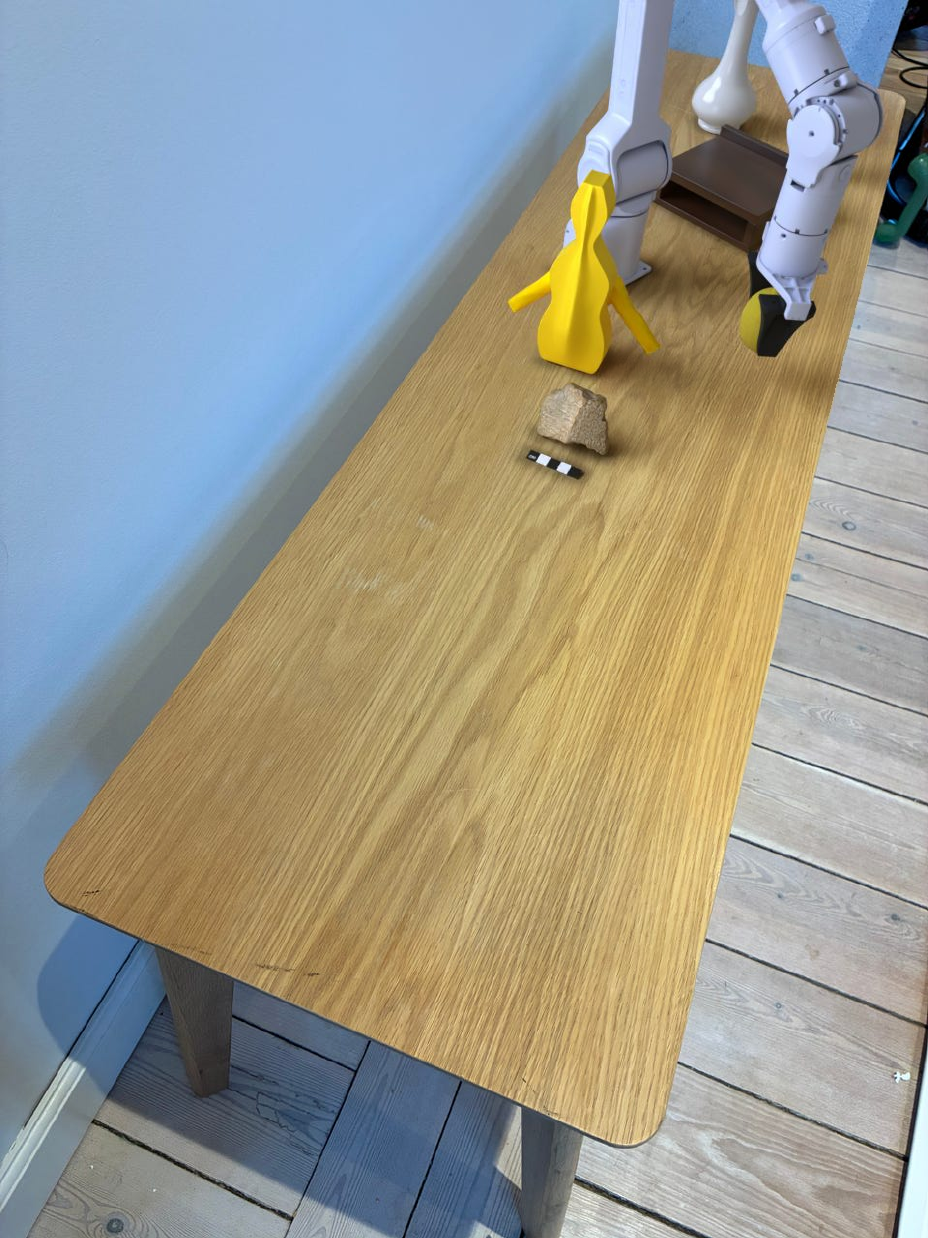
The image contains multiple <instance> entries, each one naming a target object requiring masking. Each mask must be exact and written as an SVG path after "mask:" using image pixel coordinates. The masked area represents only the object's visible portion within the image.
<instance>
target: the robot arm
mask: <svg viewBox="0 0 928 1238" xmlns="http://www.w3.org/2000/svg"><path fill="white" fill-rule="evenodd" d="M618 2H619V3H618V13H617V21H616V32H615V40H614V41H615V42H614V52H613V61H612V69H611V80H610V90H609V98H608V99H609V100H608V101H609V102H608V109H607V112H606V113H605V114H604V115H603V117H601V119H600V120H599V121H598V122H597V123H596V124H595V125H594V126H593V128H592V129H591V130H590V131H589V133H588V134H587V135H586V137H585V147H584V151H583V153H582V155H581V158H580V160H579V162H578V165H577V175H576V176H577V177H576V178H577V185H578V188H579V187H580V185H581V184H582V182H583V181H584V179H585V178H586V176H587V175H588V173H589V172H590V170H592V169H593V170H595V171H598V172H602V173H606V174H611V175H612V178H613V184H614V190H615V196H616V204H615V208H614V211H613V213H612V215H611V216H610V218H609V220H608V221H607V223H606V224H605V226H604V228H603V229H602V237H603V240H604V242H605V245H606V247H607V249H608V251H609V252H610V254H611V256H612V258H613V260H614V262H615V264H616V267H617V274H618V275H619V276H620V277H621V278H622V279H623V281H624V285H625V286H627V285H629V284H631V283H633V282H634V281H636V280H638V279H639V278H642V277H643V276H645V275H647V274H649V273H650V272H652V267H651V265H649V264H647V263H645V262H644V261H642V260H640V254H641V250H642V245H643V240H644V236H645V231H646V226H647V221H648V217H649V213H650V207H651V204H652V202H653V201H654V200H655V197H656V193H657V190H658V189H661V188H662V187H664V186H665V185H666V184H667V182H668V181H669V179H670V176H671V173H672V158H673V156H672V151H671V137H672V127H671V126H670V125H669V124H668V123H667V122H666V121H665V120H664V119H663V118H662V117H661V116H660V109H661V108H660V107H661V99H662V93H663V88H664V87H663V86H664V79H665V72H666V66H667V65H666V64H667V58H668V57H667V56H668V50H669V42H670V36H671V30H672V23H673V22H672V21H673V15H674V14H673V13H674V7H675V0H619V1H618ZM755 2H756V4H757V5H758V7H759V12H760V13H761V15H762V17H763V19H764V20H765V22H766V24H767V26H766V30H765V32H764V33H765V34H764V37H763V40H762V46H761V48H762V51H763V53H764V55H765V58H766V60H767V63H768V65H769V67H770V69H771V71H772V73H773V75H774V79H775V80H776V82H777V85H778V88H779V89H780V92H781V94H782V96H783V99H784V101H785V103H786V105H787V107H788V110H789V112H790V115H791V117H792V118H789V119H788V120H787V125H786V143H787V148H788V154H789V158H788V162H787V165H786V168H787V173H786V176H785V179H784V182H783V185H782V188H781V191H780V195H779V198H778V201H777V204H776V207H775V210H774V213H773V216H772V219H771V222H767V223H766V226H765V230H764V233H763V236H762V240H763V243H762V245H760V248H759V250H752V251H750V252H748V253H747V255H746V256H747V261H748V268H749V295H748V301H749V300H750V299H751V298H752V297H753V295H754V294H756V293H757V292H759V291H761V290H762V289H766V288H772V287H774V288H775V289H776V290H777V292H778V293H779V296H778V295H772V294H759V296H758V299H759V303H760V310H761V321H760V329H759V334H758V339H757V346H756V352H757V354H756V356H757V357H763V358H764V357H765V358H776V357H777V356H778V355H779V354H780V352H782V350H783V348H784V347H785V346H786V344H787V343H788V341H789V340H790V338H791V337H792V336H793V335H794V333H795V332H796V331H798V330H799V329H800V327H802V326H803V325H804V324H805V323H807V322H808V321H810V320H812V319H813V318H814V317H815V314H816V312H817V306H816V303H815V300H811V295H812V291H813V288H814V284H815V281H816V279H817V276H818V275H826V274H828V271H829V268H830V267H829V264H828V261H827V260H826V258H824V257H822V255H823V252H824V249H825V247H826V244H827V242H828V239H829V237H830V233H831V230H832V228H833V226H834V223H835V220H836V218H837V215H838V213H839V210H840V207H841V204H842V202H843V199H844V196H845V193H846V191H847V188H848V185H849V183H850V180H851V177H852V174H853V172H854V169H855V166H856V164H857V161H858V159H859V155H858V154H857V153H860V152H862V151H864V150H866V149H867V148H869V147H871V146H872V145H873V144H874V143H875V142H876V140H877V139H878V138H879V136H880V133H881V131H882V129H883V126H884V117H885V116H884V114H885V113H884V107H883V102H882V100H881V94H880V92H879V90H878V89H876V88H875V86H873V84H871V83H869V82H866V81H863V80H862V79H861V78H860V77H859V74H858V72H856V73H855V72H854V71H853V70H852V69H851V67H850V65H849V62H848V60H847V57H846V55H845V53H844V51H843V48H842V46H841V44H840V41H839V40H838V39H839V38H838V37H837V34H836V32H835V29H836V28H837V24H836V22H835V20H834V19H835V18H834V16H833V15H832V13H827V11H826V9H825V7H824V6H822V5H821V4H818V3H817V4H816V3H814V2H810V1H808V0H755ZM563 236H564V237H563V243H562V244H563V245H562V249H563V248H564V247H565V246H567V245H568V244H569V243H570V242H572V241H573V240H574V239H575V238H576V234H575V230H574V227H573V223H572V219H571V218H570V219H569V220H568V222H567V223H566V227H565V231H564V235H563Z"/></svg>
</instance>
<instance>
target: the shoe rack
mask: <svg viewBox="0 0 928 1238" xmlns="http://www.w3.org/2000/svg"><path fill="white" fill-rule="evenodd" d="M788 158H789V152H786V151H784V150H782V149H780V148H777V147H776V146H774V145H772V144H769V143H767V142H765V141H763V140H761V139H759V138H757V137H755V136H753V135H751V134H748V133H747V132H744V131H743V130H741V129H739V130H738V129H736V128H734V127H732V126H730V125H728V124H725V125H723V126H722V128H721V132H720V135H718V134H717V135H716V136H714V137H712V138H710V139H708V140H706V141H704V142H702V143H700V144H698V145H696V146H694V147H692V148H690V149H687V150H686V151H683V152H682V153H681V152H680V154H677V155H675V156H672V173H671V176H670V179H669V181H668V182H667V184H666V185H665V186H664V187H662V188H661V189H658V190H657V193H656V197H655V200H654V201H652V202H653V203H654V204H657V205H659V206H661V207H662V208H664V209H666V210H668V211H670V212H672V213H673V214H675V215H677V216H679V217H681V218H682V219H684V220H686V221H687V222H690V223H692V224H694V225H695V226H697V227H699V228H701V229H703V230H705V231H707V232H709V233H710V234H712V235H714V236H716V237H718V238H719V239H722V240H723V241H725V242H727V243H728V244H730V245H733V246H734V247H736V248H737V249H740V250H741V251H744V252H745V253H747V254H748V253H749V252H751V251H754V250H755V249H757V248H759V247H761V246H762V243H763V240H762V236H763V233H764V230H765V226H766V223H767V222H771V219H772V216H773V213H774V210H775V207H776V204H777V201H778V198H779V195H780V191H781V188H782V185H783V182H784V179H785V176H786V173H787V168H786V165H787V162H788Z"/></svg>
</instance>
